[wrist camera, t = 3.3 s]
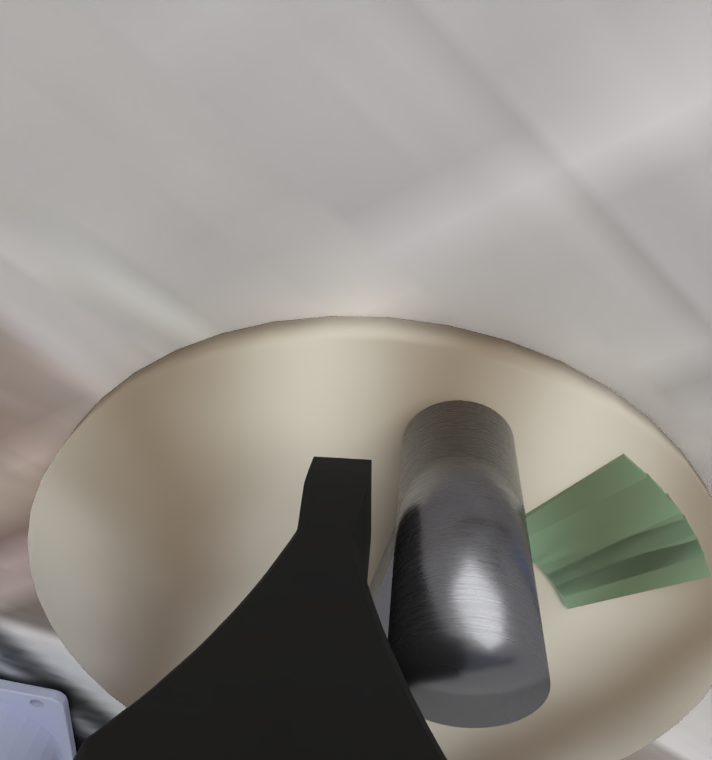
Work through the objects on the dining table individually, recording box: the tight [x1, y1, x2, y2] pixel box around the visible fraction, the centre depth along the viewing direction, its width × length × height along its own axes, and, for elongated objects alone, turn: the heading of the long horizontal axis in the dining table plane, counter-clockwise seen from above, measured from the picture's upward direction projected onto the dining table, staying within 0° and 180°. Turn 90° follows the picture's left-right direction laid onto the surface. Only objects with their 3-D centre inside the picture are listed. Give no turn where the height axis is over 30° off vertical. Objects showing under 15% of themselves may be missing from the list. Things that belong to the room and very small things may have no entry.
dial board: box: [28, 316, 712, 760], centre depth 19 cm, size 20×20×1 cm
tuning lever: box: [369, 400, 551, 728], centre depth 14 cm, size 11×3×6 cm, turn 166°
